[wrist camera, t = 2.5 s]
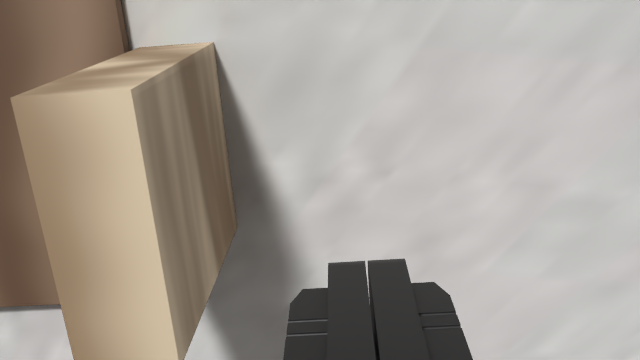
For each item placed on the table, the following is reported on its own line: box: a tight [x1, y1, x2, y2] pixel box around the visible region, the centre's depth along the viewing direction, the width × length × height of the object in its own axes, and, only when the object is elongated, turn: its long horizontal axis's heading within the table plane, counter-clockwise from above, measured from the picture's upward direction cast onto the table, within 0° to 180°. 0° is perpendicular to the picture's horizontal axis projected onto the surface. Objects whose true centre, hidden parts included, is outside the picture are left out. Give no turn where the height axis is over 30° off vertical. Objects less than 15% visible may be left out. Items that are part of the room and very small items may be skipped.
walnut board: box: [0, 0, 129, 307], centre depth 26 cm, size 12×14×1 cm
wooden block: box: [10, 42, 237, 360], centre depth 21 cm, size 3×8×10 cm, turn 4°
